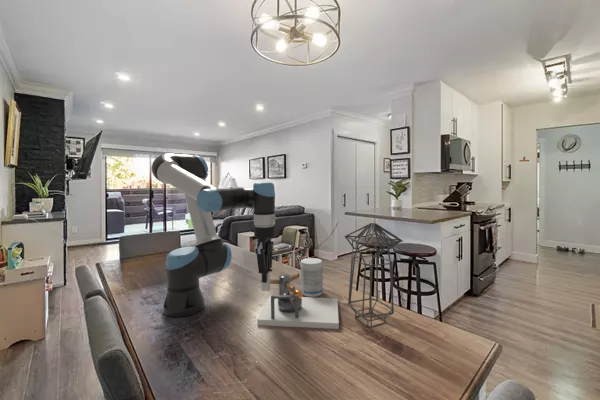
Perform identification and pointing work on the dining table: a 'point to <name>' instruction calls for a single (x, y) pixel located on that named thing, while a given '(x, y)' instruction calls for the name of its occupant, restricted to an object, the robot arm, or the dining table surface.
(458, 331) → the dining table surface
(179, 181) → the robot arm
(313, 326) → the white base plate
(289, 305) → the capstan
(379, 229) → the geometric lantern
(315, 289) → the supplement tub
